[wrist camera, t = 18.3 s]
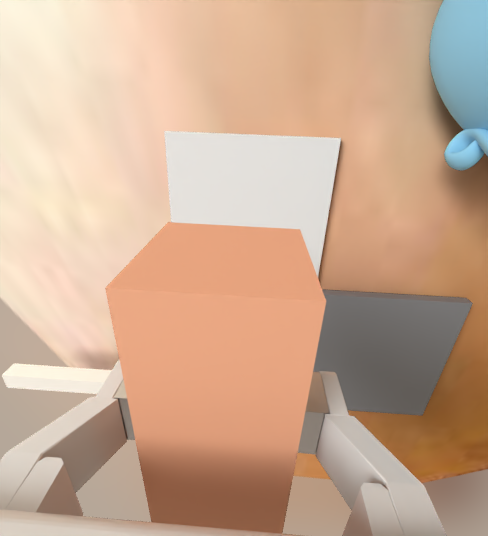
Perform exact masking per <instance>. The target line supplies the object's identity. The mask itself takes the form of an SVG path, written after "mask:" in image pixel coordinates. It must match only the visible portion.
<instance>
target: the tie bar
mask: <svg viewBox="0 0 488 536" xmlns="http://www.w3.org/2000/svg"><path fill="white" fill-rule="evenodd" d="M111 371H112V370H101V369H86V368H71V367H57V366H42V365H27V364H13V365H12V366H11V367H10V368H9V369H8V370H7V371H6V372H5V373H4V374H3V375H2V377H3V379H4V381H5V384H6V386H7V388H22V389H37V390H50V391H63V392H78V393H91V394H98V392H99V390H100V389H101V387H102V385H103V384H104V382H105V381H106V379H107V377H108V376H109V374H110V372H111Z"/></svg>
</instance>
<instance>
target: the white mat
mask: <svg viewBox="0 0 488 536" xmlns="http://www.w3.org/2000/svg"><path fill="white" fill-rule="evenodd" d="M164 132H165V145H166V158H167V171H168V185H169V198H170V211H171V222H173V223H192V224H211V225H230V226H248V227H267V228H286V229H300V230H301V233H302V236H303V239H304V241H305V244H306V247H307V250H308V252H309V255H310V258H311V261H312V263H313V266H314V269H315V272H316V274H317V277H318V274H319V268H320V262H321V256H322V250H323V244H324V238H325V232H326V226H327V220H328V214H329V208H330V202H331V196H332V190H333V184H334V178H335V172H336V166H337V160H338V154H339V148H340V142H341V138H325V137H301V136H276V135H252V134H227V133H203V132H178V131H164Z"/></svg>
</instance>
